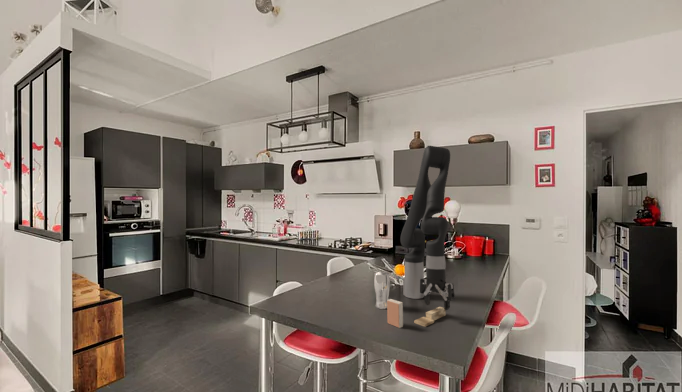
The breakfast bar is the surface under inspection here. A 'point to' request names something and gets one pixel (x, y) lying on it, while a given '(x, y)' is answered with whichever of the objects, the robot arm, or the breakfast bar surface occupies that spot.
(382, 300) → the beer glass
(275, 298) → the breakfast bar surface
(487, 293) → the breakfast bar surface
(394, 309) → the tile
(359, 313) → the breakfast bar surface
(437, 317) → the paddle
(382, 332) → the breakfast bar surface
